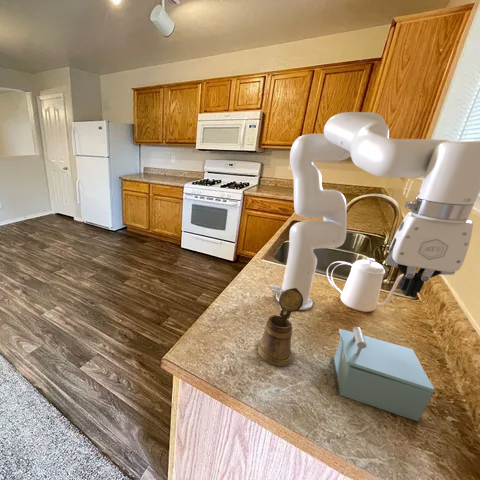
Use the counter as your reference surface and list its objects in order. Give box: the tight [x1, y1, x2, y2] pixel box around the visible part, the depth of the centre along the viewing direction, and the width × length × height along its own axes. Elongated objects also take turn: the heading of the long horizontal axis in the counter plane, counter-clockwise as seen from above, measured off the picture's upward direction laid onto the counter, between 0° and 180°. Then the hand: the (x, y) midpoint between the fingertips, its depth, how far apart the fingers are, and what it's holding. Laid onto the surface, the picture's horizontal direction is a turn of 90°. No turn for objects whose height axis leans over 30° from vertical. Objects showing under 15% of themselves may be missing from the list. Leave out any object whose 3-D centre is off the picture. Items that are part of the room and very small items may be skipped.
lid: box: [338, 326, 435, 393], centre depth 62 cm, size 15×13×5 cm
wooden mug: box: [257, 288, 303, 367], centre depth 74 cm, size 9×14×18 cm, turn 136°
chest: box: [333, 337, 434, 422], centre depth 65 cm, size 15×13×9 cm
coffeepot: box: [326, 257, 403, 313], centre depth 96 cm, size 11×25×19 cm, turn 44°
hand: (407, 293), depth 56 cm, fingers closed
